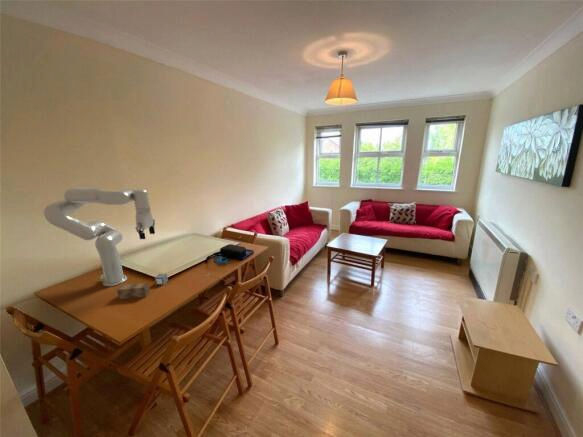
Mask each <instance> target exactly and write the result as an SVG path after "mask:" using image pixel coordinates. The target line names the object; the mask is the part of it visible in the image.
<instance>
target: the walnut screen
mask: <svg viewBox="0 0 583 437" xmlns="http://www.w3.org/2000/svg"><path fill="white" fill-rule="evenodd" d="M116 291H117V295H118V299H119V300H124V299H125V300H128V299H137V298H138V299H139V298H146V297H147V296H148V295H149V294H150V292H151V291H150V286H149V283H148V282H146V283H143V282H142V283H133V284H120V286H119V287H118V288H117V290H116Z"/></svg>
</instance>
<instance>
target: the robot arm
mask: <svg viewBox="0 0 583 437" xmlns="http://www.w3.org/2000/svg"><path fill="white" fill-rule="evenodd" d="M63 194H64V195H63V197H64V199H62V200H57V201H55V202H51V203H49V204H48V205H46V206H45V208H44V209H43V216H44V219H45V220H46V221H47V222H48V223H49V224H51V226H55V227H56V228H59V229H61V230H64V231H66V232H67V233H70V234H71V235H74V236H75V237H78V238H80V239H82V240H84V241H92V240H94V239H95V238H97V239H96V240H95V242H94V244H95V248H96V251H97V253H98V255H99V259H100V260H99V261H100V263H101V267H102V272H103V274H101V275H100V277H99V280H103V282H102V286H104V287H114V286H118V285H122V283H124V282H126V281H127V280H128V276H127V275H125V274H124V272H123V266H122V265H123V264H122V262H121V257H120V252H119V250H118V248H117V245H118V244H119V243H120V242H122V240H123V234H122V233H121V232H120V231H119V230H118V229H116V228H114V227H112V226H110V225H108V224H106V223H104V222H102V221H97V220H93V221H90V222H85V221H83V220H80V219H79V218H76V217H73V216H69V215H71V214H73V213H75V212H77V211H78V210H79V209H80V208H81V207H83V206H84V205H85V204H101V205H108V206H109V205H111V206H112V205H115V206H116V205H117V206H119V205H120V206H121V205H127V204H129V203H131V202H134V206H135V223H136V224H135V227H134V229H135V231H136V232H137V233H138V235H139V240H146V234H145V230H146V229H148V231H149V235H155V233H156V232H155V224H156V223H155V221H156V220H155V219H153V218H154V217H153V214H152V212H151V210H152V209H151V206H150V199H149V193H148V190H147V189H144V188H143V189H142V188H141V189H140V188H139V189H131V188H125V189H122V190H120V191H106V190H102V189H101V188H92V187H91V188H88V187H86V186H76V187H71V188H69V189H66V190H65V192H64V193H63Z"/></svg>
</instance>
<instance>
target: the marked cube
mask: <svg viewBox="0 0 583 437" xmlns="http://www.w3.org/2000/svg"><path fill="white" fill-rule="evenodd" d="M154 282H155V285H156V286H165V285H166V284H167V283H168V282H169V277H168V273H158V274H157V275H156V276H155V277H154Z"/></svg>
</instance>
